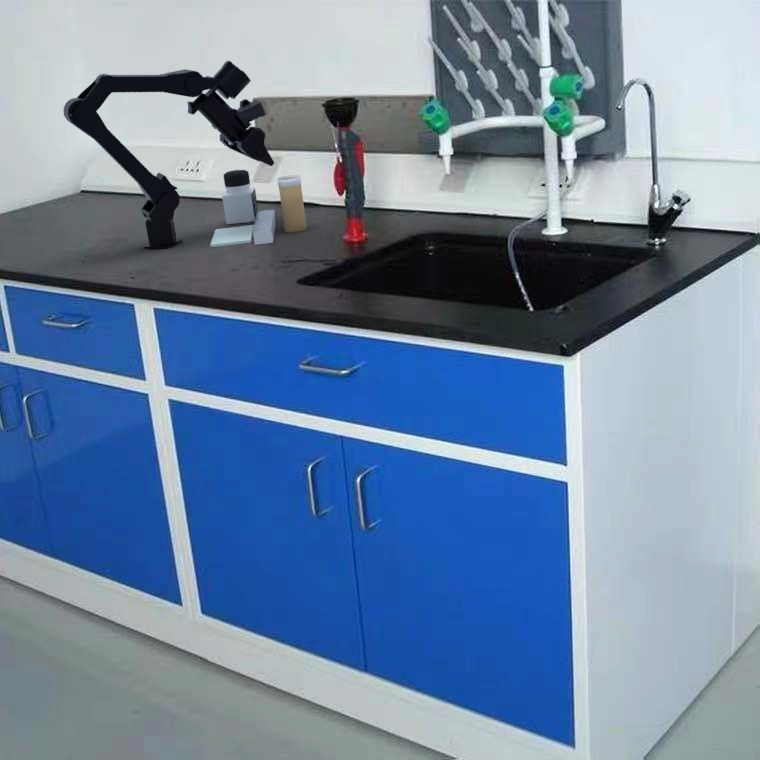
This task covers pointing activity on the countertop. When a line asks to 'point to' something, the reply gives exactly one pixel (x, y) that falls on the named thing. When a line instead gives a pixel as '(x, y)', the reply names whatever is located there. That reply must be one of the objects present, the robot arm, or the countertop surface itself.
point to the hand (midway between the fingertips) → (266, 162)
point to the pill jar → (292, 203)
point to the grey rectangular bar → (264, 227)
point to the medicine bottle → (239, 198)
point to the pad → (232, 236)
